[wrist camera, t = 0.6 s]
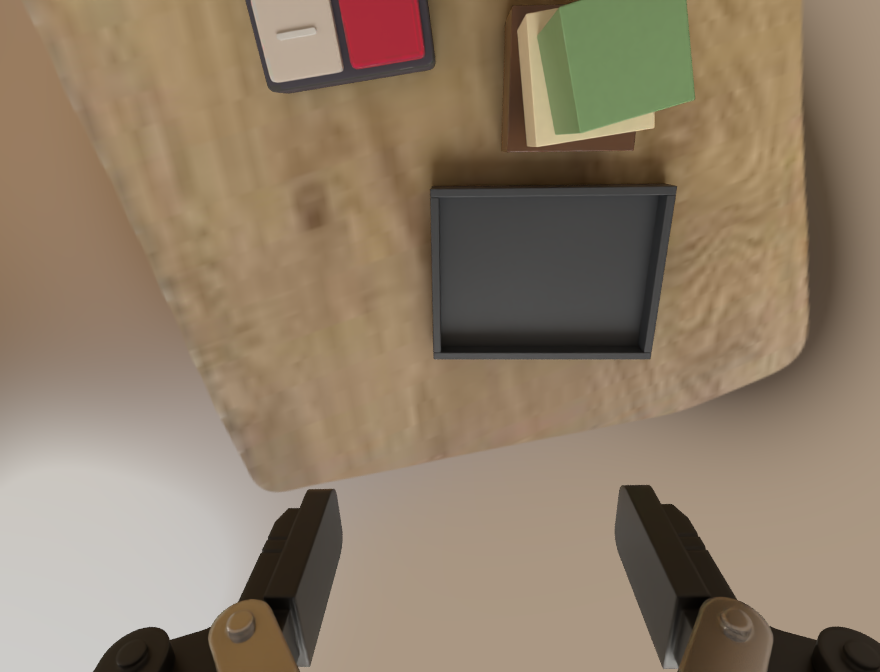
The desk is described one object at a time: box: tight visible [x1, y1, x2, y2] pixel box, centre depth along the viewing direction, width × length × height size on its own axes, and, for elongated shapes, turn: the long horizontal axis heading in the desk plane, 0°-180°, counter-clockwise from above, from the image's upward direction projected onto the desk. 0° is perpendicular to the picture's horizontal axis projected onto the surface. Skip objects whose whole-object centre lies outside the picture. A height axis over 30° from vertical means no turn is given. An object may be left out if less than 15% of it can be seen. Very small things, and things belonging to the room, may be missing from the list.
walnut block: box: [501, 4, 636, 152], centre depth 32 cm, size 8×8×4 cm
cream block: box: [517, 8, 655, 147], centre depth 28 cm, size 6×6×4 cm
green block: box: [537, 0, 695, 135], centre depth 24 cm, size 5×5×6 cm
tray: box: [430, 184, 677, 359], centre depth 38 cm, size 13×17×2 cm
